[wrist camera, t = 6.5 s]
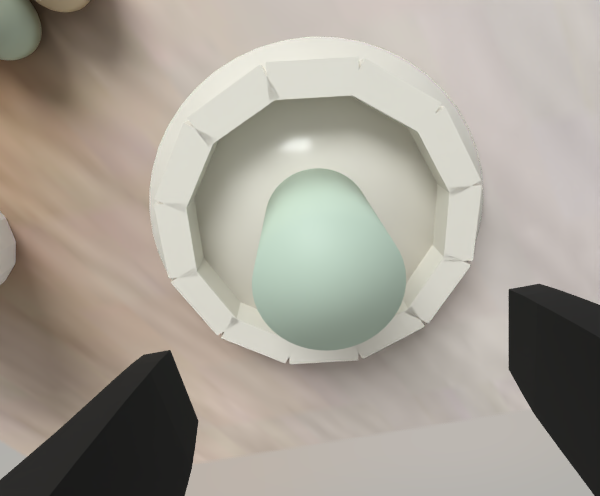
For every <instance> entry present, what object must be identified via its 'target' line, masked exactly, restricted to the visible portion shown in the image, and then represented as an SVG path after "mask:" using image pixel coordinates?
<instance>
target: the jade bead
mask: <svg viewBox="0 0 600 496" xmlns="http://www.w3.org/2000/svg"><path fill="white" fill-rule="evenodd" d="M405 288H406V270H405V265H404V261H403V258H402V256H401V254H400V251H399V250H398V248H397V246H396V245H395V243H394V241H393V240H392V238H391V237H390V235H389V234H388V232H387V230H386V229H385V227H384V226H383V224H382V223H381V221H380V219H379V218H378V216H377V215H376V213H375V212H374V210H373V208H372V207H371V205H370V204H369V202H368V201H367V199H366V197H365V196H364V194H363V193H362V191H361V190H360V188H359V187H358V186H357V185H356V184H355V183H354V182H353V181H352V180H351V179H350V178H348V177H347V176H345V175H343V174H341V173H339V172H336V171H334V170H329V169H322V168H315V169H307V170H303V171H300V172H297V173H295V174H293V175H291V176H290V177H288V178H287V179H285V180H284V181H283V182H282V183H280V185H279V186H278V187H277V188H276V189H275V191H274V192H273V194H272V195H271V197H270V199H269V202H268V205H267V208H266V213H265V218H264V222H263V227H262V232H261V237H260V241H259V246H258V251H257V256H256V261H255V265H254V270H253V276H252V292H253V298H254V302H255V305H256V307H257V310H258V312H259V314H260V315H261V317H262V319H263V320H264V321H265V323H266V324H267V325H268V326H269V327H270V328H271V329H272V330H273V331H274V332H275V333H276V334H278V335H279V336H280V337H282V338H283V339H285V340H287V341H288V342H290V343H293V344H295V345H298V346H301V347H304V348H308V349H313V350H325V351H328V350H339V349H345V348H349V347H352V346H355V345H358V344H360V343H363V342H365V341H367V340H368V339H370V338H372V337H373V336H375V335H376V334H378V333H379V332H380V331H381V330H382V329H384V328H385V327H386V326H387V325H388V324H389V322H390V321H391V320H392V319H393V317H394V316H395V314H396V313H397V311H398V309H399V307H400V305H401V303H402V300H403V297H404V293H405Z"/></svg>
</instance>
